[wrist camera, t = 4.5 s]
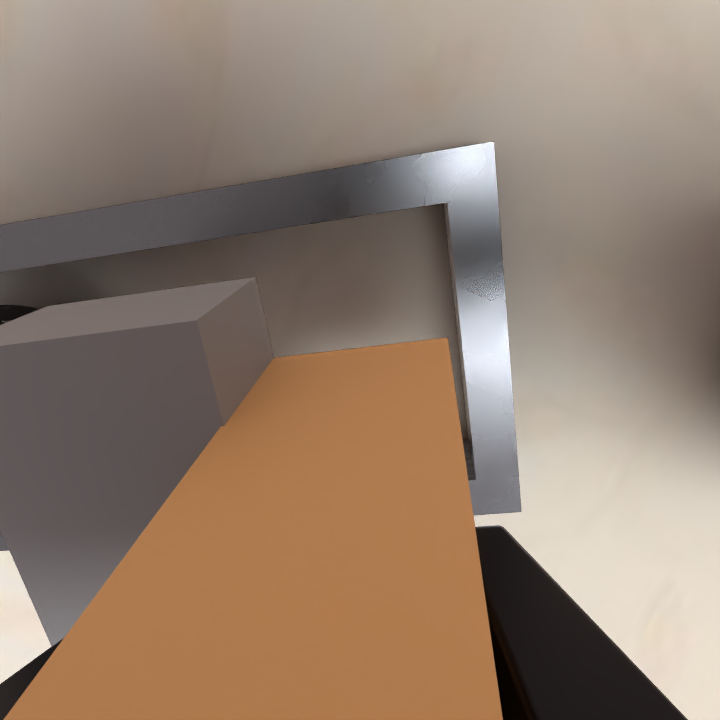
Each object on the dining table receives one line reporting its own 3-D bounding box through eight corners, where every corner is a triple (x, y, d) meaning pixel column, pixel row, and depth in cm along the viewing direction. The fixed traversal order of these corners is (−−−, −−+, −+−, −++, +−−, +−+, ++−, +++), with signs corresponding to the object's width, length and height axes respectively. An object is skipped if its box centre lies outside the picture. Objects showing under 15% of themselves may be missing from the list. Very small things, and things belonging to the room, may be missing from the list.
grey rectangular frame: (482, 143, 15) (493, 141, 13) (508, 466, 19) (521, 511, 16) (-106, 243, 18) (-185, 256, 16) (8, 510, 21) (-42, 554, 19)
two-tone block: (438, 250, 10) (653, 1487, 1) (471, 558, 12) (632, 1835, 3) (48, 306, 11) (-1783, 1042, 2) (143, 577, 13) (-489, 1533, 4)
